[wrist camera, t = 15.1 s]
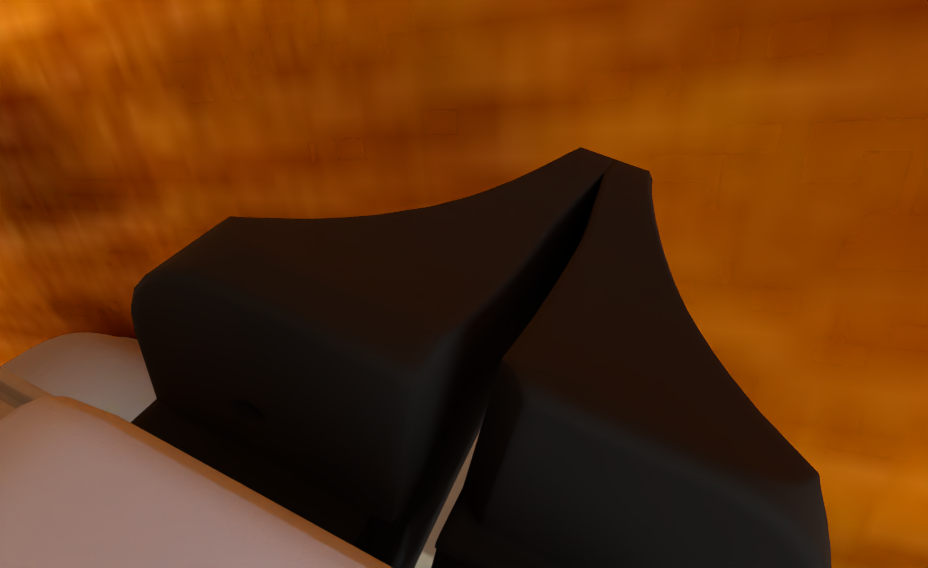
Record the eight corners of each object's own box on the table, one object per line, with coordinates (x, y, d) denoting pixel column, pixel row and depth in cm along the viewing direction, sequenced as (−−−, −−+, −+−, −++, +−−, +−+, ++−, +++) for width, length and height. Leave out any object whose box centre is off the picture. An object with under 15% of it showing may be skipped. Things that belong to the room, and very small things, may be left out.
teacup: (49, 274, 28) (-150, 390, 22) (229, 335, 24) (47, 494, 18) (148, 458, 36) (23, 578, 30) (292, 525, 32) (181, 676, 26)
